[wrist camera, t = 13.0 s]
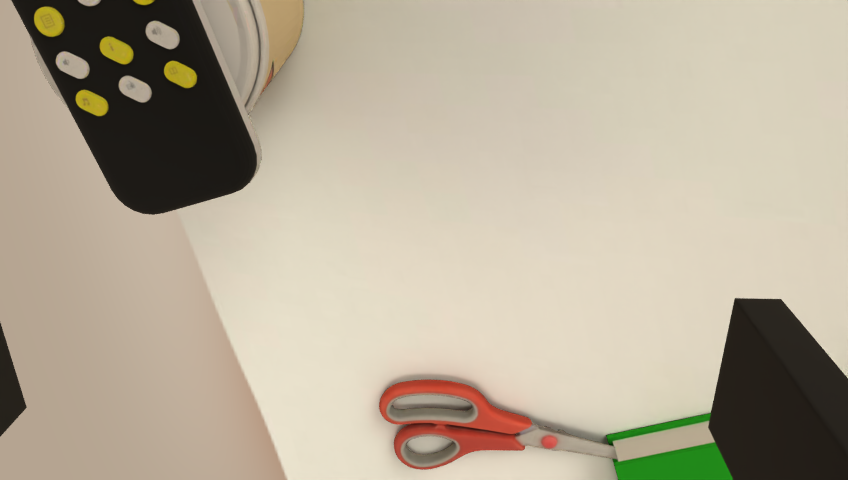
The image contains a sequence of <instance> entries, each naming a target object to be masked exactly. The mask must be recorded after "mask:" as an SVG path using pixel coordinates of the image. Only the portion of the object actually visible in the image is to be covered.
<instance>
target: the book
mask: <svg viewBox="0 0 848 480" xmlns="http://www.w3.org/2000/svg"><path fill="white" fill-rule="evenodd" d="M710 415H711V413H709V414H704V415H700V416H695V417H690V418H686V419H681V420H676V421H671V422H667V423H662V424H657V425H652V426H648V427H643V428H638V429H634V430H629V431H624V432H619V433H615V434H610V435H606V437H607V440H608V444H609V445H611V446H614V447H615V451H616V455H617V459H618V460H617V459H613V462H614V466H615V469H616V473H617V477H618V480H733V478H732V476H731V474H730V472H729V470H728V468H727V466H726V464H725V462H724V459H723V457H722V455H721V453H720V451H719V449H718V447H717V445H716V443H715V441H714V439H713V437H712V435H711V432H710V430H709V428H708V425H709V420H710Z"/></svg>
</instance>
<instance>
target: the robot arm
mask: <svg viewBox="0 0 848 480" xmlns="http://www.w3.org/2000/svg"><path fill="white" fill-rule="evenodd" d="M25 409H26V404H25V401H24V398H23V395H22V391H21V388H20V385H19V381H18V378H17V375H16V372H15V369H14V365H13V362H12V359H11V356H10V352H9V349H8V346H7V343H6V339H5V336H4V333H3V330H2V327H1V323H0V436H1V435H2V434H3V433H4V432H5V431H6V430H7V428H8V427H9V426H10V425H11V424H12V423H13V422H14V421H15V420H16V418H18V416H19V415H20V414H21V413H22V412H23V411H24V410H25ZM708 428H709V430H710V432H711V435H712V437H713V439H714V441H715V443H716V445H717V447H718V449H719V451H720V453H721V455H722V457H723V459H724V462H725V464H726V466H727V468H728V470H729V472H730V474H731V476H732V478H733V480H848V378H847V377H846V376H845V375H844V374H843V372H842V371H841V370H840V369H839V368H838V366H837V365H836V364H835V363H834V362H833V360H832V359H831V358H830V357H829V356H828V354H827V353H826V352H825V351H824V350H823V349H822V347H821V346H820V345H819V344H818V343H817V341H816V340H815V339H814V338H813V337H812V335H811V334H810V333H809V332H808V331H807V329H806V328H805V327H804V326H803V325H802V324H801V322H800V321H799V320H798V319H797V318H796V316H795V315H794V314H793V313H792V312H791V310H790V309H789V308H788V307H787V306H786V304H785V303H784V302H783V301H782V300H781V299H740V298H735V300H734V305H733V310H732V315H731V319H730V324H729V329H728V334H727V339H726V343H725V348H724V353H723V358H722V363H721V367H720V372H719V377H718V382H717V387H716V391H715V396H714V401H713V406H712V411H711V415H710V420H709V425H708Z"/></svg>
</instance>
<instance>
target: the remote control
mask: <svg viewBox="0 0 848 480" xmlns="http://www.w3.org/2000/svg"><path fill="white" fill-rule="evenodd" d="M12 2H13V4H14V6H15V8H16V10H17V11H18V13H19V15H20V17H21V19H22V21H23V23H24V25H25V27H26V29H27V31H28V32H29V34H30V36H31V38H32V40H33V42H34V44H35V46H36V48H37V50H38V51H39V53H40V55H41V57H42V59H43V61H44V63H45V65H46V67H47V68H48V70H49V72H50V74H51V76H52V78H53V80H54V82H55V84H56V86H57V87H58V89H59V91H60V93H61V95H62V97H63V99H64V101H65V103H66V104H67V106H68V108H69V110H70V112H71V114H72V116H73V118H74V119H75V122H76V123H77V125H78V127H79V129H80V131H81V133H82V135H83V136H84V138H85V140H86V142H87V144H88V146H89V148H90V150H91V152H92V154H93V156H94V157H95V159H96V161H97V163H98V165H99V167H100V169H101V171H102V173H103V174H104V176H105V178H106V180H107V182H108V184H109V186H110V188H111V190H112V191H113V193H114V194H115V196H116V197H117V198H118V199H119V200H120V201H121V202H122V203H123V204H124V205H125V206H127V207H129V208H130V209H132V210H134V211H137V212H140V213H143V214H160V213H165V212H168V211H172V210H176V209H179V208H183V207H186V206H190V205H193V204H197V203H200V202H204V201H207V200H211V199H214V198H218V197H221V196H225V195H228V194H232V193H234V192H236V191H239V190H241V189H242V188H244V187H245V186H246V185H247V184H248V183H250V181H251V180H252V179H253V177H254V176H255V174H256V173H257V171H258V169H259V167H260V163H261V147H260V143H259V140H258V137H257V135H256V133H255V130H254V128H253V125H252V123H251V121H250V118H249V116H248V114H247V111H246V109H245V106H244V104H243V102H242V99H241V97H240V95H239V92H238V90H237V87H236V85H235V83H234V80H233V78H232V76H231V73H230V71H229V68H228V66H227V64H226V61H225V59H224V57H223V54H222V52H221V49H220V47H219V45H218V42H217V40H216V38H215V35H214V33H213V30H212V28H211V26H210V23H209V21H208V19H207V16H206V14H205V11H204V9H203V7H202V4H201V2H200V0H12Z"/></svg>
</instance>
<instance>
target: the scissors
mask: <svg viewBox="0 0 848 480" xmlns="http://www.w3.org/2000/svg"><path fill="white" fill-rule="evenodd" d="M413 395H441V396H449V397H454V398H458V399H462V400H465V401H467V402H469V403H470V404H471V405H472V406H473V407H472V408H471V409H470V410H467V411H461V410H453V409H444V408H413V409H403V410H399V409H396V408H394V407H393V405H392V403H393V402H394V401H395V400H397V399H399V398H402V397H406V396H413ZM379 408H380V412H381V414H382V416H383V417H384V418H385V419H386V420H387V421H389V422H391V423H393V424H409V425H407V426H405V427H404V428H402V429H401V430H400V431H399V432H398V434H397V435H396V437H395V440H394V449H395V453H396V455H397V457H398V458H399V459H400V460H401V461H402V462H403V463H404V464H405V465H407V466H409V467H412V468H415V469H432V468H437V467H440V466H443V465H446V464H448V463H450V462H452V461H454V460H456V459H458V458H460V457H461V456H463V455H465V454H468V453H470V452H474V451H480V450H524V449H525V446H532V447H538V448H544V449H549V450H555V451H556V450H562V451H569V452H576V453H582V454H588V455H594V456H600V457H606V458H612V459H617V455H616V451H615V447H614V446H611V445H607V444H603V443H599V442H595V441H591V440H588V439H583V438H579V437H576V436H573V435H570V434H568V433H566V432H565V431H563V430H558V431H555V430H553V429H551V428H550V427H547V426H544V427H546V428H544V427H543V426H541V425H536V424H533V423H532V421H531V420H530V419H529V418H528V417H525V416H521V415H518V414H514V413H510V412H507V411H503V410H501V409H498V408H496V407H494V406H492V405H491V404H490V403H489V402H488V401H487V400H486V399H485V397H484V396H483V395H482V394H481V393H480V392H479V391H478V390H476V389H475V388H473V387H471V386H468V385H465V384H461V383H457V382H452V381H445V380H413V381H406V382H401V383H397V384H395V385H392V386H391V387H389V388H388V389H387V390H386V391H385V392H384V394H383V395H382V397H381V399H380V403H379ZM559 431H560V432H559ZM515 433H518V434H515ZM422 436H437V437H442V438H446V439H449V440H452V441H453V442H454V443H453V444H452V445H451V446H449V447H448V448H446V449H444V450H442V451H440V452H437V453H433V454H428V455H421V454H416V453H414V452H412V451H410V450H409V449H408V448H407V446H406V443H407V442H408V441H410V440H411V439H414V438H417V437H422ZM617 460H618V459H617Z"/></svg>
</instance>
